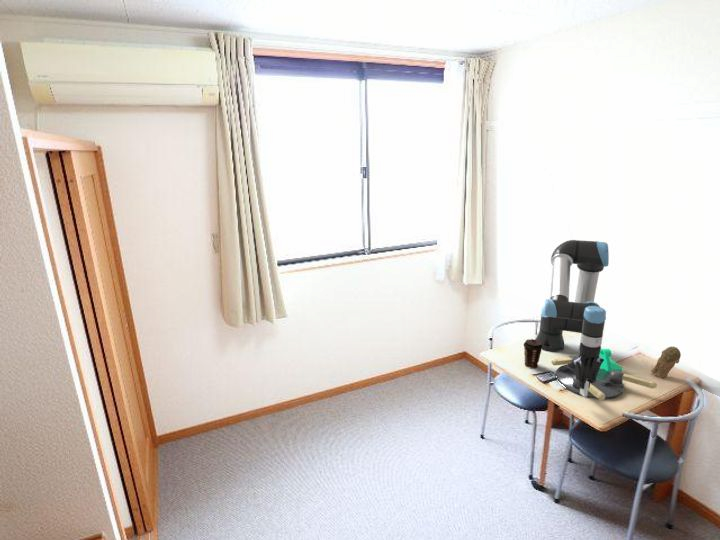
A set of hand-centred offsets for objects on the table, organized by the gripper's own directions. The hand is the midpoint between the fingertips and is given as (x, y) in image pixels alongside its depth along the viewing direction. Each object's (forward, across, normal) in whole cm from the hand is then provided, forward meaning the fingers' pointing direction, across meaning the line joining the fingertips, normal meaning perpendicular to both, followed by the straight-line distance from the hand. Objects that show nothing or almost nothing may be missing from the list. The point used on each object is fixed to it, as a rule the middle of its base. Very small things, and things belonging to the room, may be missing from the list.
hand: (583, 394), depth 175 cm
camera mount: (+6, +35, +27) cm, 44 cm away
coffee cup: (+6, -1, +37) cm, 37 cm away
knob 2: (+3, +30, +6) cm, 30 cm away
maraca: (+3, +11, +28) cm, 30 cm away
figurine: (+6, +54, +14) cm, 56 cm away
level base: (+6, +16, +17) cm, 24 cm away
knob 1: (+3, +7, +5) cm, 9 cm away
